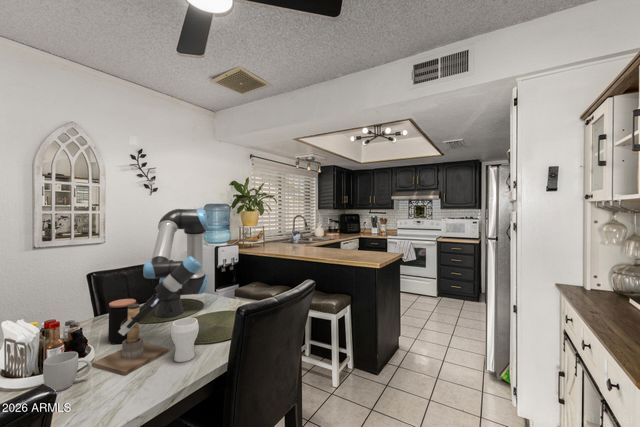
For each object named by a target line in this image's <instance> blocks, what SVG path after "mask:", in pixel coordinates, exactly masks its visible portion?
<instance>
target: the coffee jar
mask: <svg viewBox="0 0 640 427" xmlns="http://www.w3.org/2000/svg"><path fill="white" fill-rule="evenodd" d="M131 304H137V300H136V299H134V298H123V299H117V300H113V301H111V302H109V303H108V306H109V308H108V328H107V329H108V332H107V333H108V334H107V335H108V338H107V339H108V340H107V341H108V342H109V343H110V344H112V345H122V342H123V341H124V340H126V339H127V333H126V334H125V335H124V336H123V335H122V334H120V333H119V332H118V331H119V330H120V329H121V328H120V327H121V326H122V325H123V324H124V323H125V322H126V321H127V320H128V305H131Z"/></svg>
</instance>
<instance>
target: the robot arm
mask: <svg viewBox="0 0 640 427" xmlns="http://www.w3.org/2000/svg"><path fill="white" fill-rule="evenodd" d="M208 219H209V218H208V214H207V211H206V210H204V209H199V208H198V209H197V208H193V209H192V208H191V209H190V208H177V209H176V208H175V209H172V210H170V211H168V212H167V213H165V214H164V215H163V216H162V217H161V219H160V220H159V221H158V226H157V229H158V232H157V237H156V241H155V245H154V249H153V252H152V257H151V260H150V261H146V262H145V263H144V264H143V267H142V268H143V270H142V272H143V273H142V274H143V278H144V279H154V280H155V279H159V281H158V282H159V283H158V284H157V285H156V286H155V288H154V289H155V290H154V291H155V293H153V294H152V295H151V296H150V298H149V299H147V300H146V301H145V303H144V304H142V305H141V306H139V313H138V314H137V315H136V316H135V317H131V320H130V321H129V322H128V320H127V321H126V322H125V323H124V324H123V325H122V326H121V327H120V328H121V329H120V330H119V331H118V332H119V333H120V334H122V335H123V336H124V335H125V334H126V333H127V332H128V331H129V330H130V329H131V328H132V327H133V326H134V325H135V324H137V323H139V324H140V322H141V321H142V320H143V319H144V318H145V317H147V315H149V313H150V312H152V311H153V310H154V309H155V308H156V309H155V311H154V315H155V317H156V318H171V317H176V315H177V316H179V315H181V314H183V313H184V306H183V303H182V300H181V296H187V295H188V296H189V295H190V296H191V295H199V294H204V293H206V289H207V284H208V274H206V272H205V270H204V269H203V254H204V252H203V251H204V249H203V248H204V247H203V244H204V243H203V241H204V237H203V235H204V234H205V233H206V230H208V229H209V220H208ZM178 230H183V233H184V234H185V235H186V258H185V259H184V260H176V261H175V260H173V261H171V260H170V259H171V253H172V249H173V243H174V238H175V233H176V232H177V231H178ZM182 312H183V313H182Z"/></svg>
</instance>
